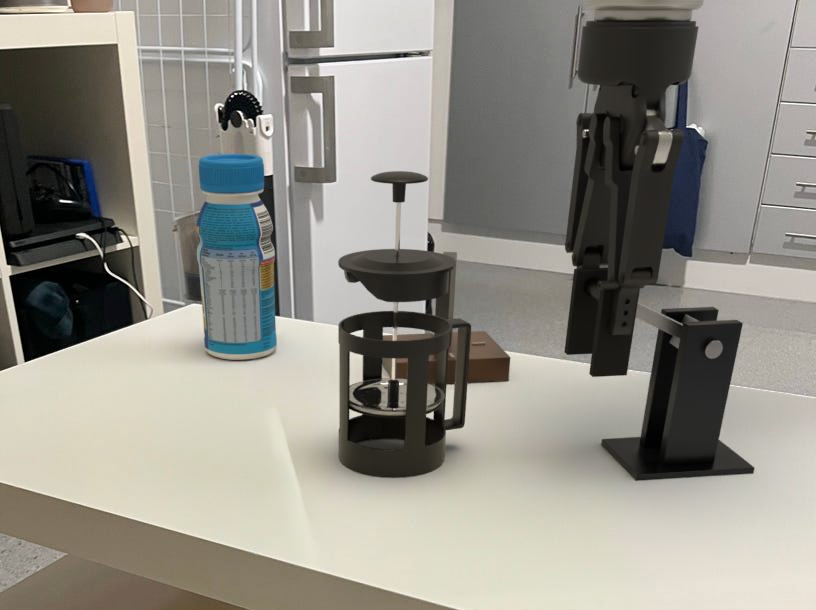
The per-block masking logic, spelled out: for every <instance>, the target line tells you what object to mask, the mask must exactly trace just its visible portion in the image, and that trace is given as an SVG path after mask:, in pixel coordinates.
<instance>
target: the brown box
mask: <svg viewBox="0 0 816 610" xmlns="http://www.w3.org/2000/svg"><path fill="white" fill-rule="evenodd" d="M431 337H434V332H431V333H429V332H428V333H427V332H426V333H411V334H410V333H407V334H404V333H403V334H397V341H406V340H419V339H426V338H431ZM457 337H458V331H455V332H453V331H452V340H451V346H450V347H449V351H448V368H447V385H448V384H455V370H456V354H457ZM383 340H390V341H393V334H383ZM436 356H437V354H434V355H430V356H429V366H428V383H429V384H432V385H435V375H436ZM407 361H408V358H398V359H396V378H398V379H407ZM382 366H383V367H384V369H385V371H386V372H387V374H388V375H389V377H390V378H392V358H382ZM510 366H511V355H509V354H508V353H507V352H506V351H505V350H504V349H503V348H502V347H501V346H500V345H499V344H498V343H497V342H496V341H495V340H494V339H493V338H492V336H491V335H490V334H489V333H487V331H486V330H475V331H471V339H470V354H469V369H468V383H467V384H469V383H486V382H487V383H488V382H506V381H507V382H509V380H510V379H509V377H510Z"/></svg>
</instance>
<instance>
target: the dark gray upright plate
mask: <svg viewBox="0 0 816 610" xmlns="http://www.w3.org/2000/svg"><path fill="white" fill-rule="evenodd" d="M442 254H445V255H447V256H450V257H452V258H454V259H455V261H456V262H457V259H458V252H457V251H443V252H442ZM456 276H457V265H456V266H455V268H454V269H453V270H451V271H449V287H448V293H447V294H445V295H443V296H441V297H438V298H435V310H434V311H435V312H434V315H435V316H438V317H441V318H443V319H446V320H447V319H454V314H455V313H454V311H455V296H456V295H455V294H456ZM453 330H454V329H452V332H453ZM433 333H434V332H433ZM435 336H438V334H437V333H434V337H435ZM451 340H452V335H451Z"/></svg>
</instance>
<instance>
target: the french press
mask: <svg viewBox="0 0 816 610" xmlns="http://www.w3.org/2000/svg"><path fill="white" fill-rule="evenodd" d="M370 180H371V181H372V182H374V183H379V184H391V186H392V187H391V188H392V203H395V204H396V205H395V238H394V240H395V241H394V242H395V243H394V248H379V249H368V250H360V251H355V252H351V253H348V254H345V255H343V256H341V257H340V258H339V259H338V261H337V264H338V267H339V268H340V269H341V270H342V271H344V272H343V273H344V274H343V275H344V279H345V280H346V281H347V283H349V284H350V283H353V284H355V283H359V282H360V284H362V286H363V287H364V288H365V290H367V292H369V293H370V294H371V295H372V296H373V297H374V298H375V299H376V300H380V301H383V302H386V303H393V309H392V310H380V311H369V312H362V313H356V314H353V315H350V316H347V317H344V318H343V319H342V320H340V321H339V323H338V327H337V328H338V332H337V334H338V338H337V339H338V340H337V341H338V345H339V346H338V349H339V353H338V357H339V358H338V359H339V361H338V363H339V365H338V366H339V368H338V369H339V370H338V371H339V372H338V373H339V375H338V376H339V377H338V379H339V380H338V381H339V382H338V383H339V393H338V394H339V395H338V396H339V397H338V398H339V407H338V409H339V412H338V413H339V414H338V415H339V420H338V421H339V426H338V460H339V462H340V463H341V465H342V466H343V467H345V468H346V469H348V470H349V471H352V472H354V473H357V474H361V475H364V476H369V477H376V478H383V479H385V478H386V479H403V478H405V479H406V478H412V477H413V478H414V477H417V476H423V475H426V474H429V473H432V472H433V471H436V470H437V469H439V468H440V467H441V466H443V464H444V463H445V456H446V455H445V453H446V452H445V451H446V437H447V431H450V430H459V429H462V428H464V427H465V425H466V424H465V423H466V412H467V411H466V410H467V397H468V384H469V383H468V369H469V354H470V339H471V332H472V324H471V323H470V322H468V321H466V320H464V319H462V318H460V317H458V318H453V319H447V320H446V319H443V318H441V317H438V316H435V314H430V313H425V312H419V311H418V312H417V311H406V310H399V303H415V302H423V301H430V300H436V298H438V297H441V296H443V295H445V294H447V293H448V287H449V271H451V270H453V269H454V268H455V266H456V267H457V261H455V259H454V258H452V257H450V256H447V255H445V254H443V253H440V252H436V251H431V250H422V249H411V248H401V220H402V219H401V217H402V203H405V202H406V191H407V190H406V189H407V185H408V184H411V185H412V184H420V183H425V182H427V181H428V180H429V177H428V176H426V175H425V174H422V173H420V172H419V173H418V172H415V171H406V170H392V171H391V170H390V171H384V172H379V173H376V174H374V175H372V176H371V177H370ZM384 328H392V335H393V341H390V340H383V335H384ZM398 328H403V329H404V328H405V329H415V330H422V331H427V332H431V333H437V334H438V336H435V337H431V338H426V339H419V340H406V341H397V335H398ZM452 329H453V330H454V329H457V332H458V337H457V354H456V370H455V383H454V387H453V403H452V405H453V406H452V416H451V417H450V418H447V419H446V417H445V416H446V401H447V387H448V386H447V385H448V384H447V368H448V351H449V347H450V346H451V335H452V332H453V331H452ZM360 331H362V336H358V335H355V334H352V333H356V332H360ZM351 353H353V354H355V355H359V356H362V380H361V381H358V382H355V383H353V384H350V382H351V380H350V376H351V374H350V373H351V369H350V368H351V366H350V365H351V364H350V363H351V362H350V361H351V359H350V358H351ZM434 354H437V356H436V375H435V384H429V383H428V366H429V356H430V355H434ZM382 358H392V378H391V377H390V378H388V377H385V378H384V377H383V364H382ZM398 358H408V361H407V379H398V378H396V359H398ZM350 411H352V412H355V413H358V414H359V415H357V416H354V417H351V418H350ZM431 413H433V418H431V417H428V416H427V415H428V414H431ZM383 439H384V440H385V439H387V440H388V439H392V440H393V439H394V440H396V439H397V440H404V445H403V446H404V448H400V449H398V448H397V449H389V448H377V447H370V446H365V445H362V444H359V443H363V442H367V441H373V440H383Z"/></svg>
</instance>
